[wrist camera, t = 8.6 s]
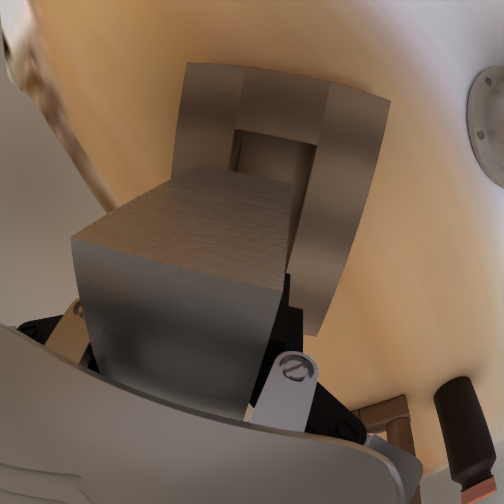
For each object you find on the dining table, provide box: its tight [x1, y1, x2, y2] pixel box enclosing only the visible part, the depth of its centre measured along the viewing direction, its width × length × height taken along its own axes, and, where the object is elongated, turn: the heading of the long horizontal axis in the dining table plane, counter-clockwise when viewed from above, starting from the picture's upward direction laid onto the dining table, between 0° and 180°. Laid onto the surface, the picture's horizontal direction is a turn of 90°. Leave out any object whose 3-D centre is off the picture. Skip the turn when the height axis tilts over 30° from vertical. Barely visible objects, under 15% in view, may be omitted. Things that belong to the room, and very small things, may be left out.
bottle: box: [434, 377, 497, 504], centre depth 22 cm, size 7×7×20 cm
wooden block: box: [351, 395, 421, 504], centre depth 27 cm, size 4×11×18 cm, turn 120°
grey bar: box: [70, 166, 292, 421], centre depth 10 cm, size 9×4×8 cm, turn 170°
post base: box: [171, 62, 391, 337], centre depth 22 cm, size 20×14×4 cm
